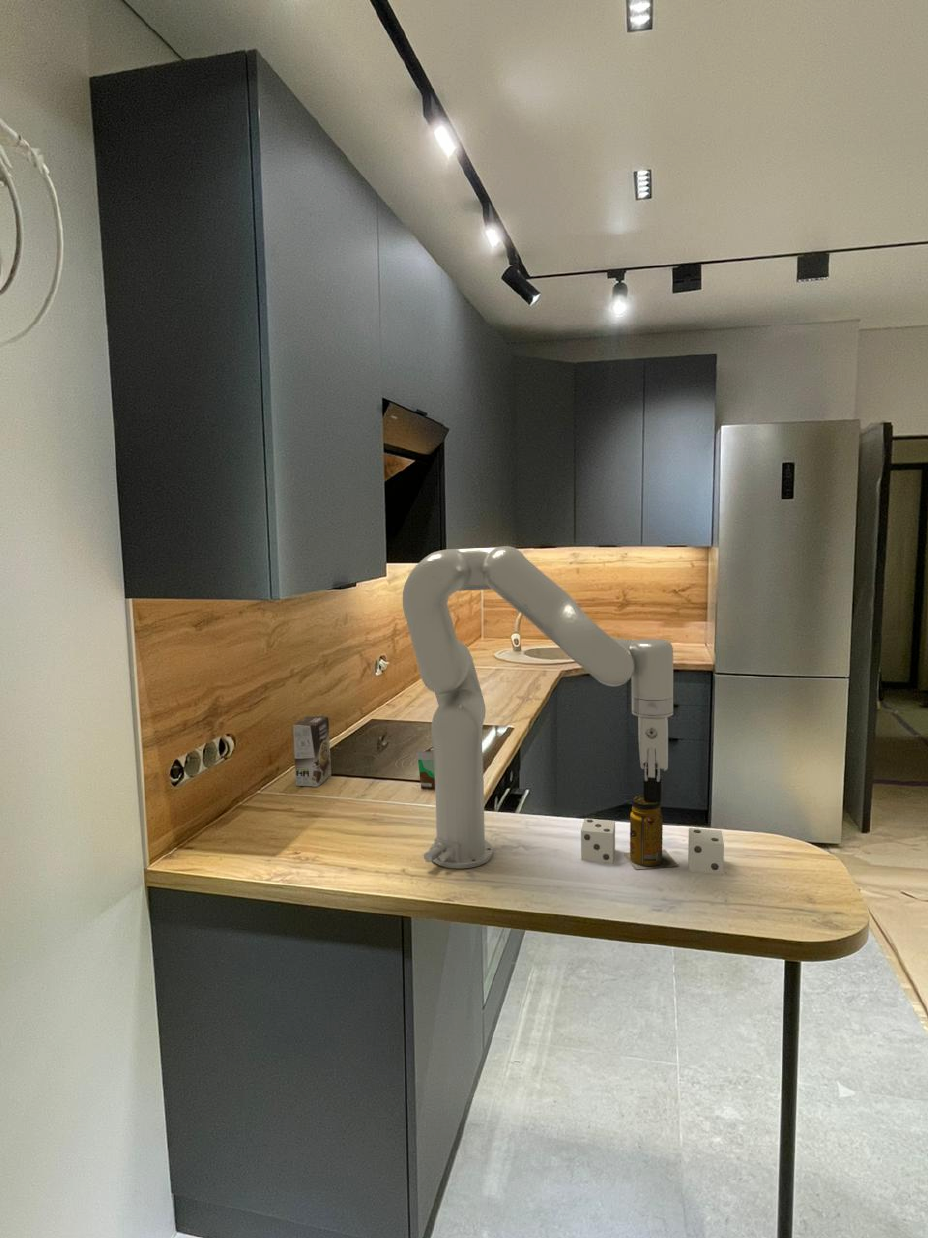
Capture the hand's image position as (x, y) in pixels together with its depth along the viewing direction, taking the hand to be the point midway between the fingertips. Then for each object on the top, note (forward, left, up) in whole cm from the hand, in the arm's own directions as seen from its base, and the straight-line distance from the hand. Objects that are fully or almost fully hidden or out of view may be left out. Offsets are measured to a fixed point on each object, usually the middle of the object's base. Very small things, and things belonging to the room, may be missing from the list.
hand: (652, 799), depth 137 cm
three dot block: (-3, +10, -12) cm, 16 cm away
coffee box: (-1, +90, -12) cm, 91 cm away
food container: (+13, +59, -12) cm, 61 cm away
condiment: (0, 0, -12) cm, 12 cm away
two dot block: (+3, -9, -12) cm, 16 cm away
